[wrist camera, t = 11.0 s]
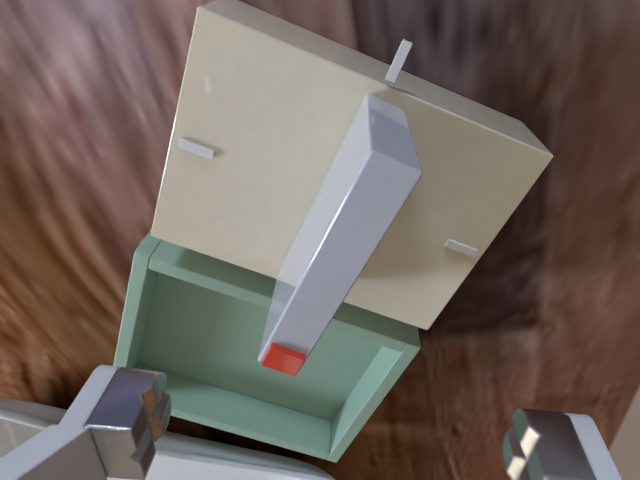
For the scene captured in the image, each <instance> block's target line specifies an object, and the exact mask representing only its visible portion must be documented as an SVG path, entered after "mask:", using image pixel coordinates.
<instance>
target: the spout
mask: <svg viewBox="0 0 640 480" xmlns="http://www.w3.org/2000/svg"><path fill="white" fill-rule="evenodd" d="M422 175H423V172H422V169H421V165H420V162H419V158H418V155H417V151H416V148H415V144H414V141H413V137H412V134H411V130H410V127H409V123H408V120H407V116H406V113H405V111H404V110H402V109H400V108H398V107H396V106H394V105H392V104H389V103H387V102H385V101H383V100H381V99H379V98H377V97H375V96H373V95H371V94H367V95H366V96H365V98H364V100H363V102H362V104H361V106H360V108H359V110H358V112H357V114H356V116H355V118H354V120H353V122H352V124H351V126H350V128H349V130H348V132H347V134H346V136H345V138H344V140H343V142H342V144H341V146H340V148H339V150H338V152H337V154H336V156H335V158H334V160H333V162H332V164H331V166H330V168H329V170H328V172H327V174H326V176H325V178H324V180H323V182H322V185H321V187H320V189H319V191H318V193H317V195H316V197H315V199H314V201H313V203H312V205H311V207H310V209H309V211H308V213H307V215H306V217H305V219H304V221H303V223H302V225H301V227H300V229H299V231H298V233H297V235H296V237H295V239H294V241H293V243H292V245H291V247H290V249H289V251H288V253H287V255H286V257H285V259H284V261H283V263H282V265H281V267H280V269H279V272H278V276H277V280H276V284H275V288H274V293H273V297H272V301H271V305H270V309H269V314H268V318H267V322H266V326H265V330H264V335H263V339H262V343H261V347H260V351H259V355H258V361H259V362H260V363H262V364H261V365H262V366H265V367H268V368H271V369H274V370H277V371H279V372H282V373H285V374H288V375H291V376H294V377H295V375H297V374H298V373H299V371H300V369H301V368H302V366H303V365H304V363H305V361H306V360H307V358H308V357H309V355H310V354H311V352H312V350H313V349H314V347H315V346H316V344H317V342H318V341H319V339H320V338H321V336H322V334H323V333H324V331H325V330H326V328H327V326H328V325H329V323H330V322H331V320H332V319H333V317H334V315H335V314H336V312H337V311H338V309H339V307H340V306H341V304H342V303H343V301H344V299H345V298H346V296H347V295H348V293H349V291H350V290H351V288H352V287H353V285H354V284H355V282H356V280H357V279H358V277H359V276H360V274H361V272H362V271H363V269H364V268H365V266H366V264H367V263H368V261H369V260H370V258H371V256H372V255H373V253H374V252H375V250H376V249H377V247H378V245H379V244H380V242H381V241H382V239H383V237H384V236H385V234H386V233H387V231H388V229H389V228H390V226H391V225H392V223H393V221H394V220H395V218H396V217H397V215H398V214H399V212H400V210H401V209H402V207H403V206H404V204H405V202H406V201H407V199H408V198H409V196H410V194H411V193H412V191H413V190H414V188H415V186H416V185H417V183H418V182H419V180H420V179H421V177H422Z"/></svg>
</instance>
